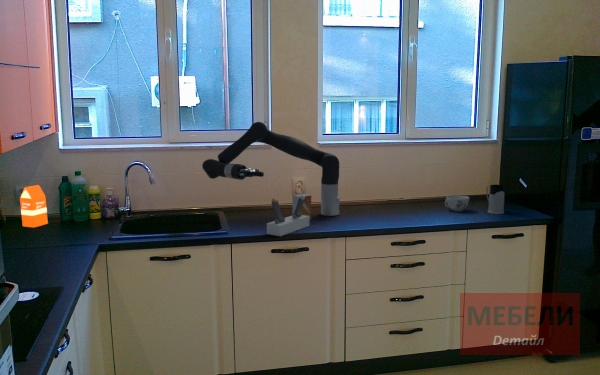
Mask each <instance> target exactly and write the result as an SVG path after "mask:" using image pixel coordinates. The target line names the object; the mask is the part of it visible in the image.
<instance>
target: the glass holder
mask: <svg viewBox="0 0 600 375" xmlns="http://www.w3.org/2000/svg"><path fill="white" fill-rule="evenodd" d="M505 187H506V186H505V185H503V184H490V185H487V186H486V189H485V190H486V191H485V192H486V198H487V201H488V210H487V213H488V214H492V215H493V214H495V215H502V214H505V211H504V207H505V206H504V205H505V189H506V188H505ZM488 189H489V191H488ZM488 192H489V194H488Z"/></svg>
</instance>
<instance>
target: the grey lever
mask: <svg viewBox="0 0 600 375" xmlns="http://www.w3.org/2000/svg"><path fill="white" fill-rule="evenodd" d="M304 200H305V196H304V195H301V196H300V198H299V200H298V203H297V206H296V209H295V212H294V214H296V217H297V216H300V215H301V210H302V206H303V203H304Z"/></svg>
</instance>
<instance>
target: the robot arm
mask: <svg viewBox="0 0 600 375" xmlns="http://www.w3.org/2000/svg"><path fill="white" fill-rule="evenodd" d="M255 142H259V143H262V144H265V145H268V146H270V147H273V148H275V149H277V150H278V151H281V152H283V153H285V154H287V155H290V156H291V157H294V158H297V159H300V160H304V161H309V162H311V163H313V164H316V165H318V166H319V167H321V173H322V174H321V178H320V184H321V187H320V202H321V203H320V215H322V216H325V217H333V216H334V217H335V216H339V215H340V197H339V180H340V179H339V178H340V160H339V158H338V156H336V155H335V154H332V153H329V152H327V151H323V150H319V149H318V148H315V147H313V146H311V145H310V144H308V143H306V142H304V141H302V140H300V139H298V138H295V137H293V136H289V135H287V134H286V135H285V134H281V133H276V132H274V131H272V130H270V129H268V126H267V125H266V124H265V123H264V122H261V121H256V122H253V123H252V124H251V126H250V127H249V128H248V130H247V131H246V132H244V134H242V136H240V137H239V138H238V139H237V140H235V141H234V142H233V143H231V144H230V145H228V147H226V148H225V149H224V150H222V151H221V152H220V153H218V155H217V159H213V158H208V159H206V160H204V161H203V162H202V166H201V167H202V170H203V171H204V172H205V173H206V175H207V176H208V178H209V179H213V180H214V179H217V178H219V177H221V178H225V179H227V178H228V179H232V180H241V181H242V180H244V179H246V178H253V177H254V178H255V177H260V178H262V177H264V176H265V174H264V171H260V170H259V169H257V168H249V167H248V168H247V166H246V165H245V164H241V163H231V162H233V161H234V160H235V159H237V158H238V157H239V156H240V155H241V154H242V153H244V152H245V150H247V148H249V147H250V146H251V145H253V144H254V143H255Z"/></svg>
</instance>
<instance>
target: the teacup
mask: <svg viewBox="0 0 600 375" xmlns="http://www.w3.org/2000/svg"><path fill="white" fill-rule="evenodd" d="M470 198H471V197H469V196H467V195H458V194H457V195H456V194H450V195H446V198H445V201H444V205H445V207H446V208H449V209H451V211H454V212H463V211H464V210H465V209H466V208H467V206H468V205H469V203H470Z"/></svg>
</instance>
